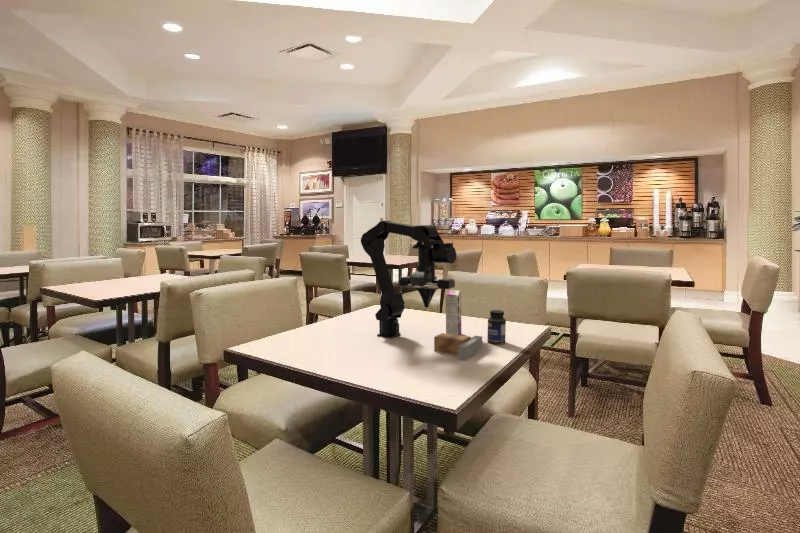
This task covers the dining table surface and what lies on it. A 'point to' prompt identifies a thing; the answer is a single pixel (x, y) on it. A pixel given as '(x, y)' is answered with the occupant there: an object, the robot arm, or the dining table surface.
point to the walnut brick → (448, 343)
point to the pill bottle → (496, 327)
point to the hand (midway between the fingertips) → (426, 307)
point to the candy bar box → (453, 312)
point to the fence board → (469, 347)
